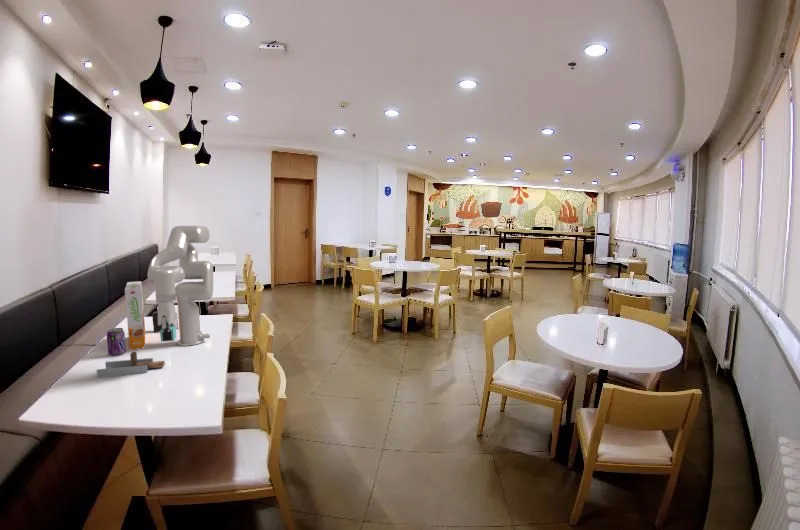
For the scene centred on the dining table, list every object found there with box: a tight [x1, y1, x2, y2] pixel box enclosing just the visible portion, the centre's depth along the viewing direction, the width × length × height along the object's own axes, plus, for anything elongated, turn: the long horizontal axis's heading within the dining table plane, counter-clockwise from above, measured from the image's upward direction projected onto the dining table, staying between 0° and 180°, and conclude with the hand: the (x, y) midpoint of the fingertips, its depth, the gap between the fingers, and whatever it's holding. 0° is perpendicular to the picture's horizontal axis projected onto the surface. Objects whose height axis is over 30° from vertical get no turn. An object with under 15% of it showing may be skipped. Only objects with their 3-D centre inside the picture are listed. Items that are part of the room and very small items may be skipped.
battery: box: [151, 310, 162, 333], centre depth 236 cm, size 7×4×11 cm, turn 119°
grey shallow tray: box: [96, 357, 154, 378], centre depth 180 cm, size 18×10×3 cm, turn 106°
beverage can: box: [106, 327, 127, 357], centre depth 199 cm, size 7×7×12 cm
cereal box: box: [124, 280, 146, 350], centre depth 215 cm, size 22×6×30 cm, turn 30°
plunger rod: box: [129, 351, 166, 370], centre depth 182 cm, size 12×3×7 cm, turn 106°
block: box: [159, 325, 177, 343], centre depth 183 cm, size 5×5×5 cm
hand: (169, 338), depth 183 cm, fingers closed on block, 5 cm apart
